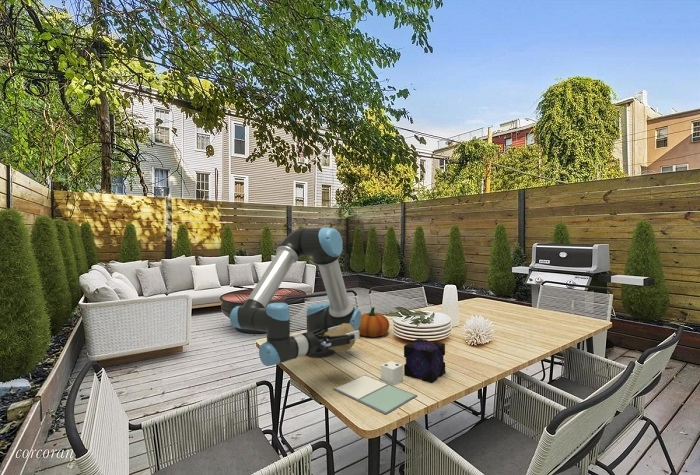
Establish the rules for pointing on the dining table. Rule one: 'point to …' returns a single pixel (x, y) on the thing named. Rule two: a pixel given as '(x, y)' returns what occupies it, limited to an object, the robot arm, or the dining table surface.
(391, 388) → the game board
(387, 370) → the die
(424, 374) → the energy cube
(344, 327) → the low-poly potato
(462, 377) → the dining table surface
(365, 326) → the pumpkin
